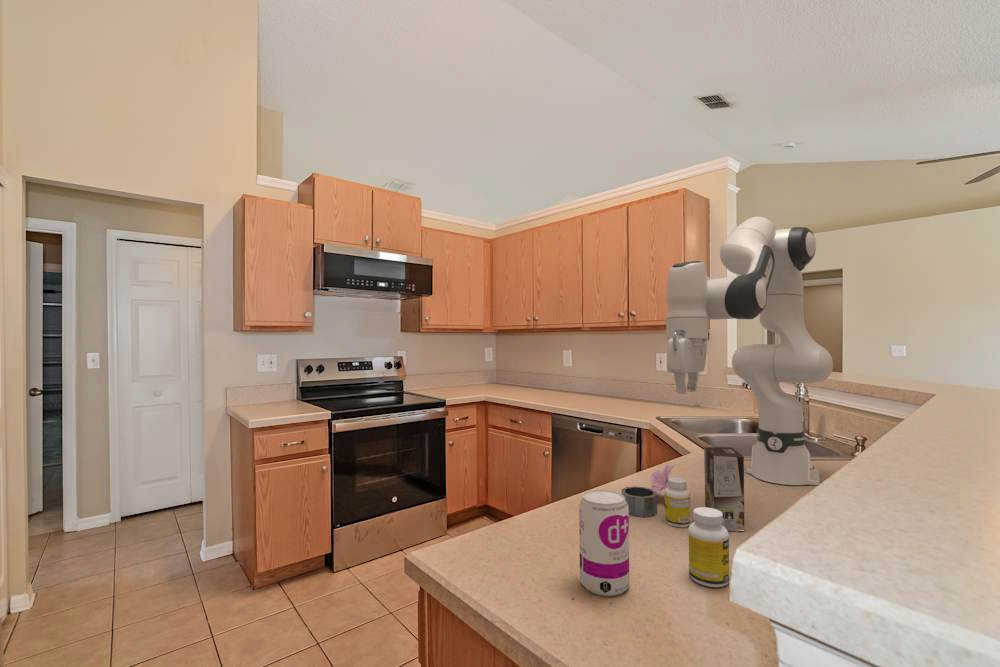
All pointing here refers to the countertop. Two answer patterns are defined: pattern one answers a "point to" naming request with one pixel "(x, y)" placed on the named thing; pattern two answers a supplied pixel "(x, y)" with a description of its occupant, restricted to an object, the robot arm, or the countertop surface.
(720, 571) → the pill bottle
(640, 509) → the collar
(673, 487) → the supplement bottle
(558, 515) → the countertop surface
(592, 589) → the supplement can
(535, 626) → the countertop surface
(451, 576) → the countertop surface
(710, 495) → the coffee box
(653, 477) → the lily
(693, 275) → the robot arm
